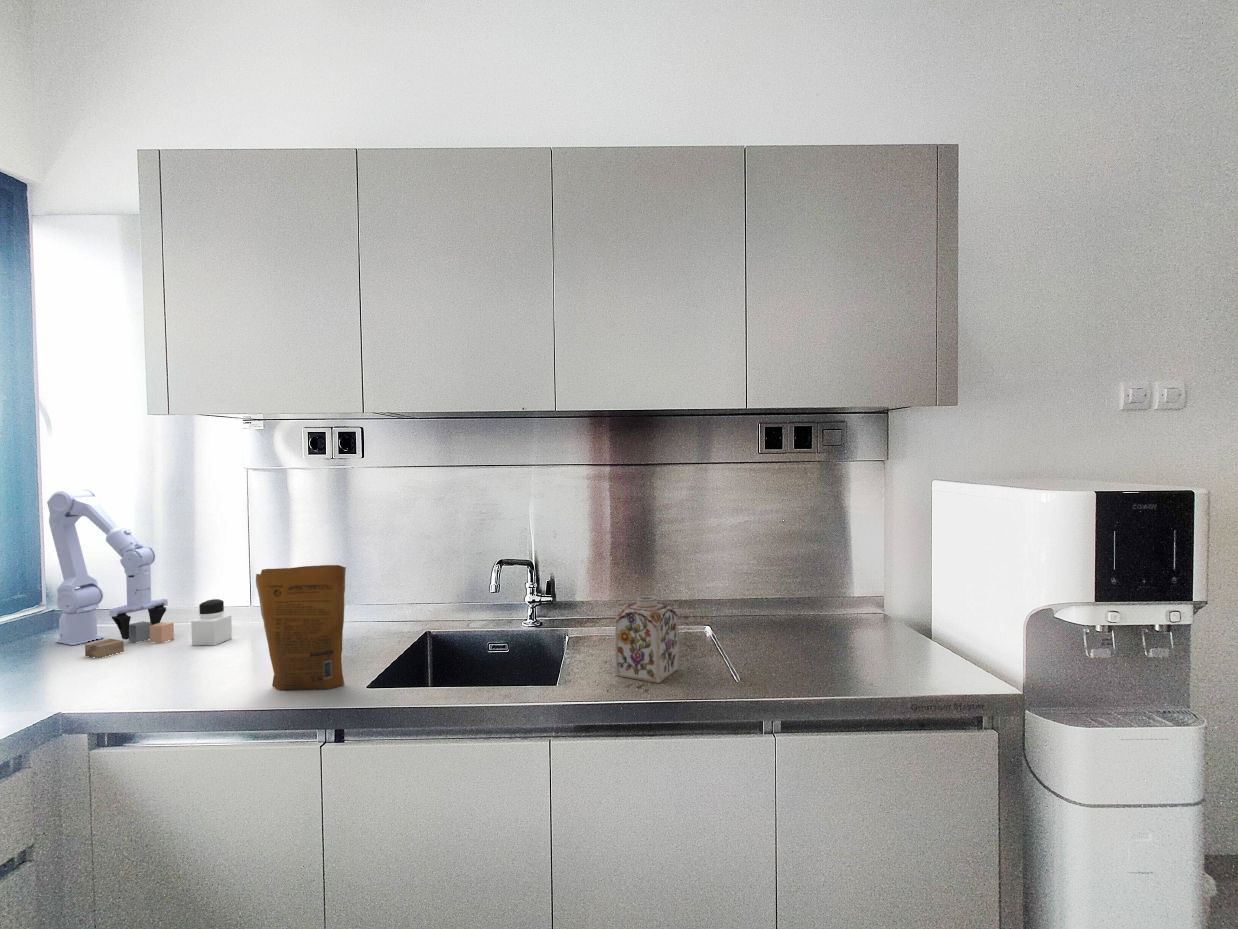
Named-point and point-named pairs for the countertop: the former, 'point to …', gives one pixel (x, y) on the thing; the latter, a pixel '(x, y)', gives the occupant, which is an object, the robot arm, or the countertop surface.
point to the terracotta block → (161, 632)
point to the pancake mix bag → (304, 624)
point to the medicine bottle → (211, 624)
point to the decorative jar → (646, 640)
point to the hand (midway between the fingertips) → (140, 635)
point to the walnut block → (104, 648)
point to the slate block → (139, 631)
